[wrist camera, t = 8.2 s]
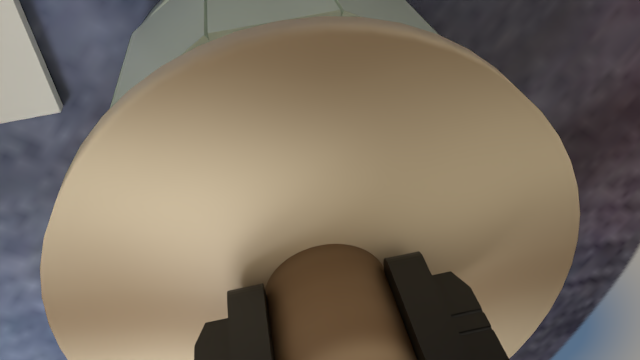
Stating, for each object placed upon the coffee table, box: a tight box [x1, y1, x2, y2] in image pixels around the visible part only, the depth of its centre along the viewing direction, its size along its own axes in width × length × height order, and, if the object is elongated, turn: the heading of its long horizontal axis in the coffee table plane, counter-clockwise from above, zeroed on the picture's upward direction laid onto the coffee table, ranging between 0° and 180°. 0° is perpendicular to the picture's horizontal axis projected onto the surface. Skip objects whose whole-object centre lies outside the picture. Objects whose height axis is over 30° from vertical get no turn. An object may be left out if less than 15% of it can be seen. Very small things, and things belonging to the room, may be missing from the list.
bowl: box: [110, 0, 438, 108], centre depth 17 cm, size 10×10×6 cm
